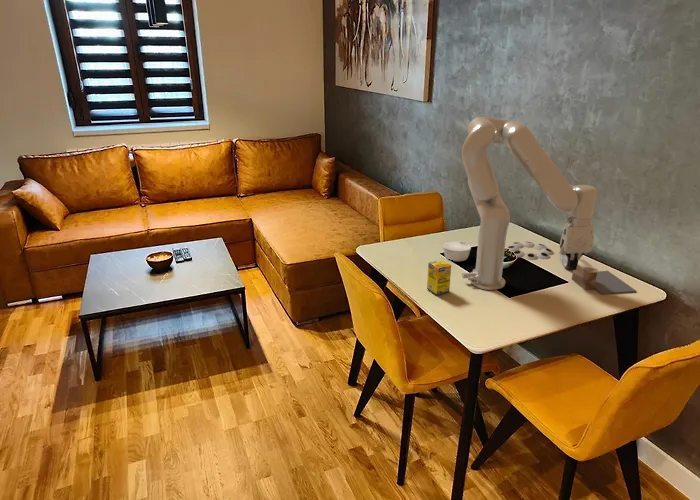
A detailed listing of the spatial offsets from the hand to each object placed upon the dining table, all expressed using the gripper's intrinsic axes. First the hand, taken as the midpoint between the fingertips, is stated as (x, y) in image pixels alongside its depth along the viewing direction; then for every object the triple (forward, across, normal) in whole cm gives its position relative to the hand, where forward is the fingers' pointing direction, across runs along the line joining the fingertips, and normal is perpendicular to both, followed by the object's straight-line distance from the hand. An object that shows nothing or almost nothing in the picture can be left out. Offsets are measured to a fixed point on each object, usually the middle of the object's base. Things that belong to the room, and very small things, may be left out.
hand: (571, 268), depth 178 cm
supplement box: (+7, -49, +2) cm, 49 cm away
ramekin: (+7, -33, +31) cm, 46 cm away
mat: (+7, +14, 0) cm, 16 cm away
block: (+7, +5, 0) cm, 9 cm away
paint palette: (+7, 0, +33) cm, 34 cm away
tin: (+7, +8, +18) cm, 21 cm away
